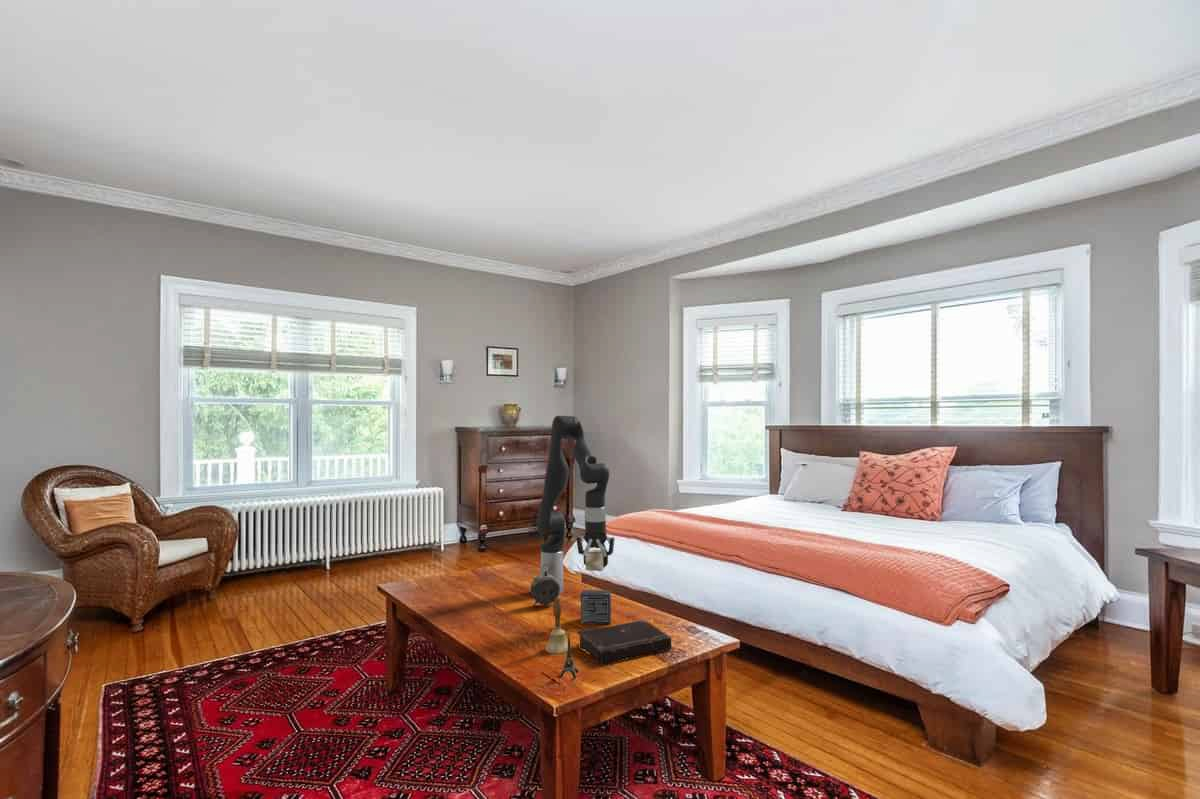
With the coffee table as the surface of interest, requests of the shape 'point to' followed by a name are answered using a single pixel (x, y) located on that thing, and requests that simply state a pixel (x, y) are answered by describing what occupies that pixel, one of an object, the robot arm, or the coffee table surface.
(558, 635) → the hand bell
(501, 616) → the coffee table surface
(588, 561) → the birch cube
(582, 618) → the small box
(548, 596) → the alarm clock
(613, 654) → the diary
